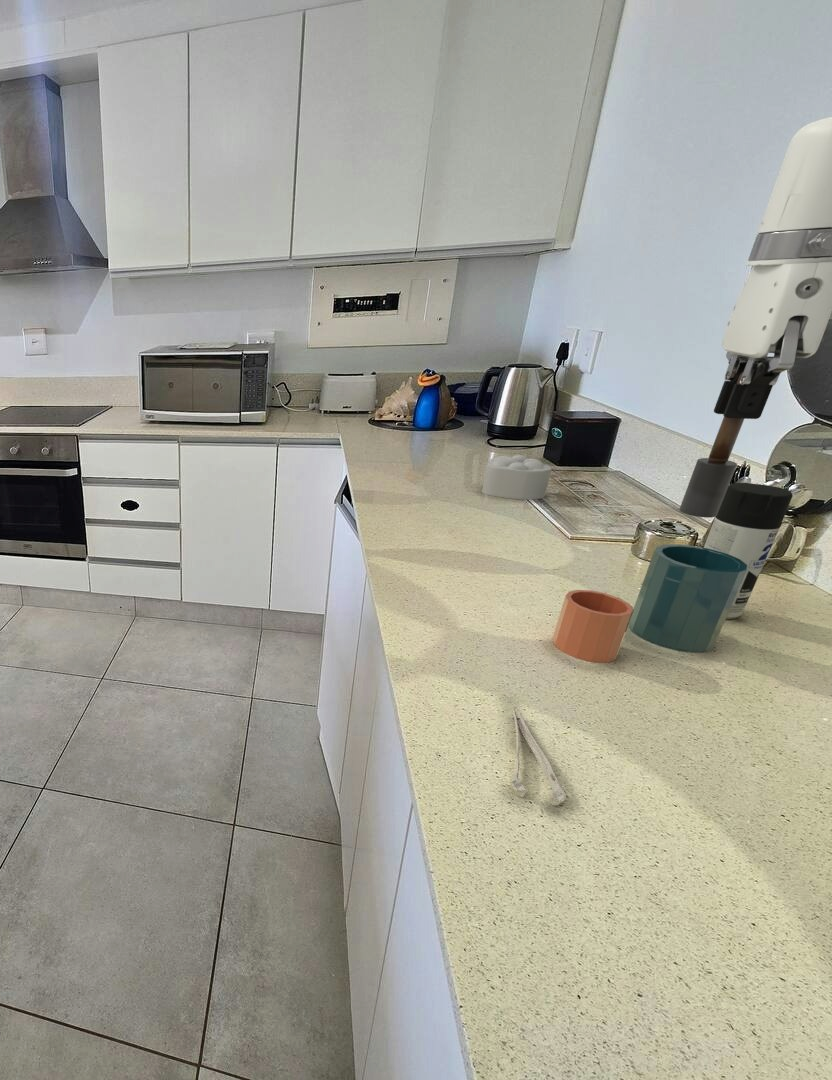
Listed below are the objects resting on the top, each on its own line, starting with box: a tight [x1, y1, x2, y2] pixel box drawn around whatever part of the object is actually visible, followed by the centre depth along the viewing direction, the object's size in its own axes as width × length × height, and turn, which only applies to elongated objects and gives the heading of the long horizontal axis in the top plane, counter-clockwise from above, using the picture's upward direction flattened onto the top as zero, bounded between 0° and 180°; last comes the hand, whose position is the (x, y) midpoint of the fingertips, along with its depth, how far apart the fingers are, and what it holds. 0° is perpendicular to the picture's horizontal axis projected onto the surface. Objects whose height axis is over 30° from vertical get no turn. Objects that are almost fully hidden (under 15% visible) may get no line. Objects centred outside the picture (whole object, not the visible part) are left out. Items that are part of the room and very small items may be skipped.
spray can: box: [703, 482, 794, 620], centre depth 87 cm, size 7×7×20 cm
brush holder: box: [551, 589, 634, 664], centre depth 81 cm, size 7×7×8 cm
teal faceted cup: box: [628, 543, 747, 654], centre depth 82 cm, size 9×9×13 cm
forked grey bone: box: [510, 706, 567, 806], centre depth 66 cm, size 17×5×2 cm, turn 155°
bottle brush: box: [678, 372, 745, 519], centre depth 72 cm, size 4×4×18 cm
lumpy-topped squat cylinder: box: [481, 454, 553, 501], centre depth 142 cm, size 10×13×9 cm
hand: (735, 414), depth 71 cm, fingers closed on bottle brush
